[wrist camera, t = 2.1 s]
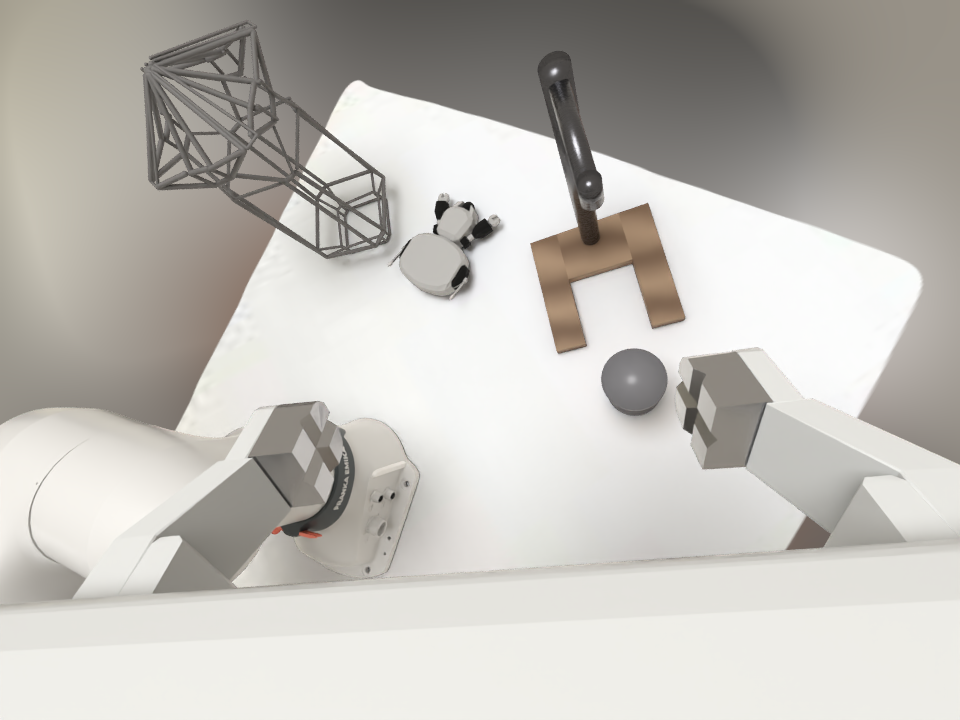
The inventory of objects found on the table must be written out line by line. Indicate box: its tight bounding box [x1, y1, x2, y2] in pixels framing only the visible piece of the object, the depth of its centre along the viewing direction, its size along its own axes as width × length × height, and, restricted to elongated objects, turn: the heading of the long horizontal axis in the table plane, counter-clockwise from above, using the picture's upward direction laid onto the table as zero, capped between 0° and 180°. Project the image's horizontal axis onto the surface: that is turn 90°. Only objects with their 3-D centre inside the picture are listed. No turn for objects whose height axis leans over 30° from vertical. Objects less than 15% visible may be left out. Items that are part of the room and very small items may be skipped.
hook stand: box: [538, 51, 604, 246], centre depth 43 cm, size 12×2×30 cm, turn 12°
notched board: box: [530, 203, 685, 353], centre depth 58 cm, size 16×16×2 cm
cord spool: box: [601, 349, 667, 416], centre depth 50 cm, size 6×6×11 cm
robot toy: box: [388, 193, 500, 300], centre depth 65 cm, size 12×4×15 cm
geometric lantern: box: [141, 20, 391, 259], centre depth 57 cm, size 16×16×35 cm
